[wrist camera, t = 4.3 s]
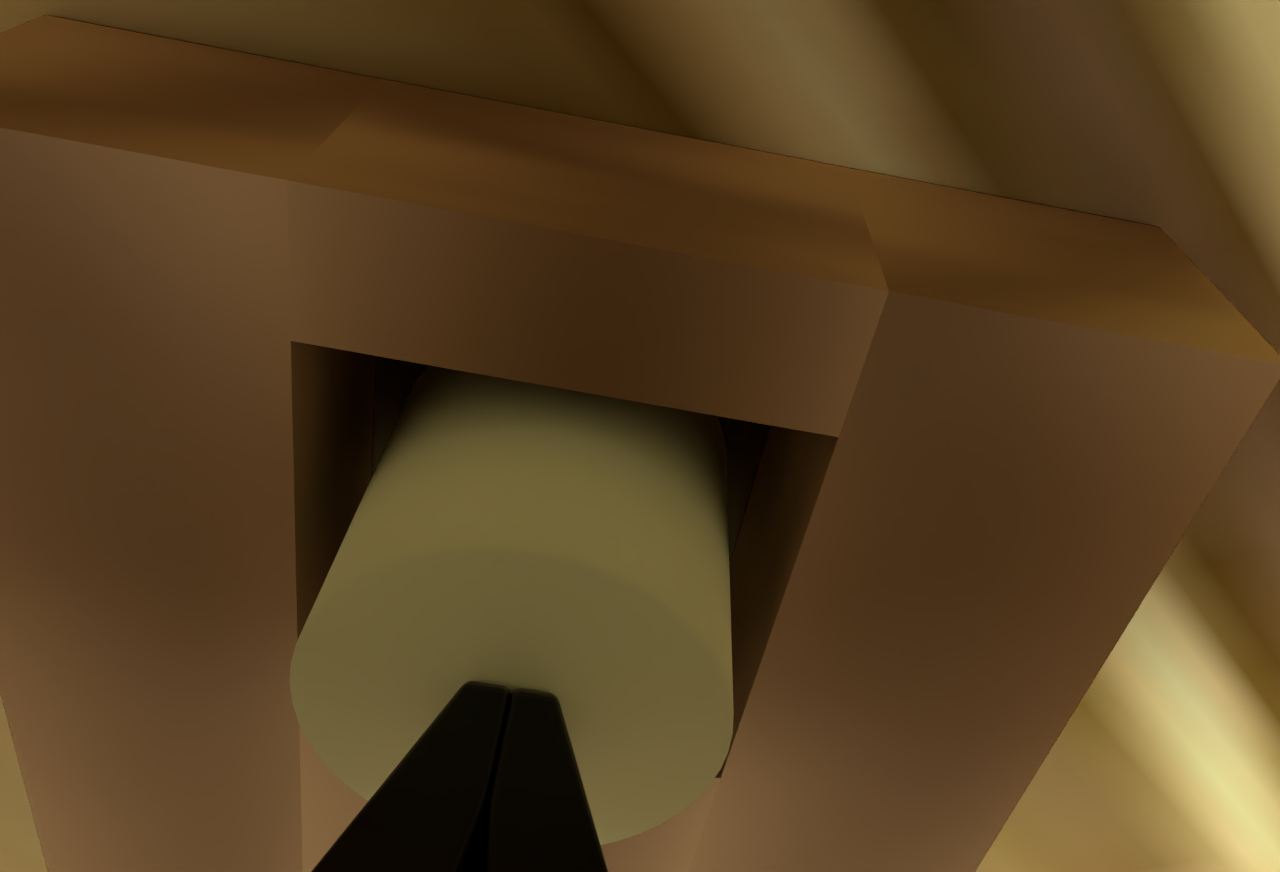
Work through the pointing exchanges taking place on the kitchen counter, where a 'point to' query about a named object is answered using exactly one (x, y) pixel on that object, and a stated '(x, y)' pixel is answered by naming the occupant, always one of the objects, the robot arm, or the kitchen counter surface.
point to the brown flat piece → (574, 360)
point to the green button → (534, 589)
